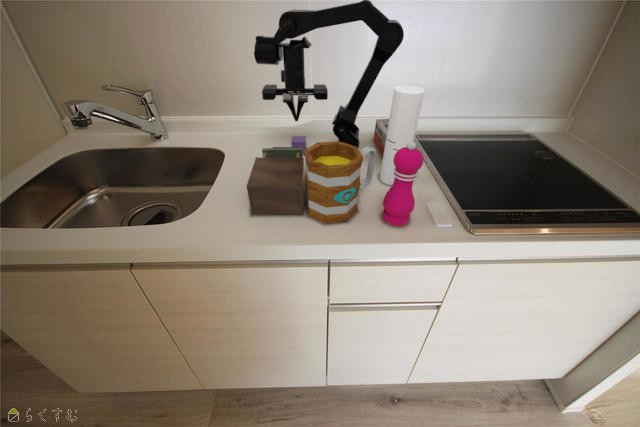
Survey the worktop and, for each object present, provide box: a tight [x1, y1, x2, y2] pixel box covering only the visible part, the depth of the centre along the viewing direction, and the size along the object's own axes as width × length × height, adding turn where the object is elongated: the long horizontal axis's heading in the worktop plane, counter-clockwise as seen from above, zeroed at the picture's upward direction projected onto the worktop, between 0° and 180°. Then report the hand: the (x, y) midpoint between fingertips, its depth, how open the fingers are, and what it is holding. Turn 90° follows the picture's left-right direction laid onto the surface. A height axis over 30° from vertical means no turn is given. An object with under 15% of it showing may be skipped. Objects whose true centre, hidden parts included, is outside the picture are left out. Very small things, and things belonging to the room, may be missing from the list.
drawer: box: [261, 146, 304, 158], centre depth 81 cm, size 17×11×7 cm, turn 1°
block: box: [291, 135, 307, 156], centre depth 96 cm, size 5×5×5 cm
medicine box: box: [373, 118, 389, 157], centre depth 96 cm, size 15×8×8 cm, turn 6°
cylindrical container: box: [379, 84, 426, 186], centre depth 76 cm, size 7×7×25 cm
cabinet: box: [246, 157, 305, 216], centre depth 73 cm, size 14×13×9 cm
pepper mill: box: [382, 141, 424, 227], centre depth 64 cm, size 7×7×20 cm
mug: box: [304, 140, 377, 225], centre depth 70 cm, size 20×14×15 cm
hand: (296, 120), depth 89 cm, fingers closed
